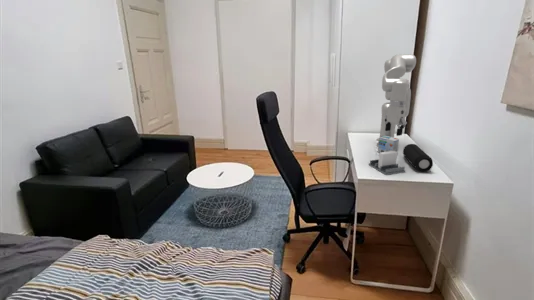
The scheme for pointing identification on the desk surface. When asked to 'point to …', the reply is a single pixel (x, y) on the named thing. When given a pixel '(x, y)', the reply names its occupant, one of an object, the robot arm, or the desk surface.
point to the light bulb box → (388, 144)
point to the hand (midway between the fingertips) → (393, 133)
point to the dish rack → (387, 168)
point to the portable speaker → (418, 157)
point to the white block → (387, 158)
